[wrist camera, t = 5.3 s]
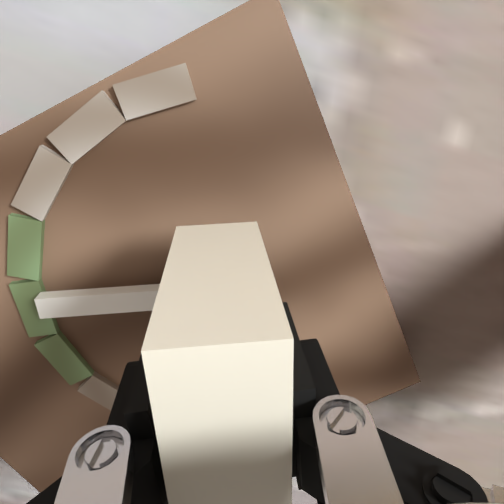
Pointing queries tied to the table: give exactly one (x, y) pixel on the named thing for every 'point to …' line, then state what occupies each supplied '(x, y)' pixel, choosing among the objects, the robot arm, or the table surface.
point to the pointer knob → (211, 364)
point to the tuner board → (176, 224)
